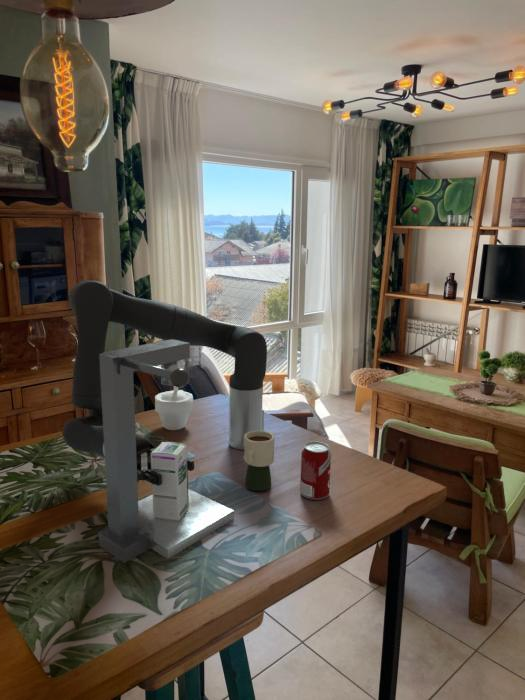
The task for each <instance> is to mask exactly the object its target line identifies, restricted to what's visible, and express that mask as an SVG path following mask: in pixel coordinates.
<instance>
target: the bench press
mask: <svg viewBox="0 0 525 700" xmlns="http://www.w3.org/2000/svg"><path fill="white" fill-rule="evenodd" d="M190 346H191V345H190V343H187V342H183V341H179V340H174V339H170V340H161V341H155V342H152V343H151V342H149V343H146V344H140V345H135V346H129V347H125V348H120V349H116V350H115V349H114V350H109V351H105V352H103V353H102V354H99V358H100V377H101V395H102V414H103V433H104V452H105V457H104V466H105V467H104V469H105V483H106V484H105V485H106V486H105V487H106V504H107V522H108V524H107V525H108V526H107V527H105V528H104V529H103V528H102V529H101V530H99V531H98V532H97V534H98V538H97V539H98V546H99V547H100V548H101V549H103V550H104V551H106V552H108V553H109V554H110V555H112V556H113V557H115V558H116V559H118V561H120V562H121V563H123V564H126V563H127V562H130V561H131V560H133V559H134V558H136V557H138V556H140V555H141V554H143V553H145V552H147V551H149V550H153V551H154V552H155V553H157V552H158V554H159V555H161V556H162V557H164V558H166V559H167V560H168V559H169V560H170V559H171V558H172V557H174V556H175V555H177V554H179V553H181V552H182V551H184V550H185V549H187V548H189V547H190V546H191V545H194V544H195V543H197V542H198V541H201V540H202V539H203V538H205V537H206V536H207V537H208V535H210V534H212V533H213V532H215V531H216V529H217V530H218V529H220V528H221V526H222V527H223V526H225V525H226V524H228V523H230V522H231V521H233V520H234V519H235V510H234V509H232V508H230V507H227V506H225V505H223V504H221V503H220V502H217V501H215V500H213V499H211V498H209V497H206V496H204V495H202V494H201V493H198V492H196V491H194V490H192V489H190V488H188V494H189V507H188V509H187V510H186V511H185V513H184V514H183V516H182V517H181V518H180V520H179V521H175V520H167V519H160V518H155V517H154V516H153V495H152V494H150V495H149V496H147V497H144V498H142V499H140V500H139V493H138V488H139V487H138V483H137V459H136V435H137V434H136V414H135V408H136V407H135V390H134V389H135V388H134V387H135V384H134V372H137V371H139V372H142V373H146V374H149V375H153V376H157V377H160V378H161V381H160V382H161V385H163V386H167V387H171V386H172V387H174V386H175V387H178V389H179V388H184V387H186V386H187V385H188V384H189V383H190V377H191V376H190V373H189V372H188V370H187V369H185V368H184V369H182V368H178V361H179V360H183V359H184V360H186V359H188V360H189V359H190V358H191V355H190V354H191V353H190V350H191V349H190ZM158 365H161V368H159V367H156V366H158ZM233 518H234V519H233ZM232 519H233V520H232ZM230 520H231V521H230ZM229 521H230V522H229ZM227 522H228V523H227ZM224 524H225V525H224ZM219 527H220V528H219ZM211 532H212V533H211ZM201 538H202V539H201ZM188 546H189V547H188ZM186 547H187V548H186ZM148 549H149V550H148ZM183 549H184V550H183Z"/></svg>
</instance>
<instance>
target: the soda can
mask: <svg viewBox="0 0 525 700" xmlns="http://www.w3.org/2000/svg"><path fill="white" fill-rule="evenodd" d="M329 449H330V446H329V445H328V444H327V443H324V442H321V441H309V442H307V443H305V444H304V449H303V450H302V451H301V455H300V456H301V461H300V481H299V483H300V484H299V487H300V488H299V492H300V495H302V496H303V497H305V498H307V499H309V500H313V501H314V500H315V501H319V500H323V499H326V498H328V496H329V495H330V486H331V472H332V471H331V469H332V452H331V450H329Z"/></svg>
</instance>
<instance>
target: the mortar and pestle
mask: <svg viewBox="0 0 525 700" xmlns="http://www.w3.org/2000/svg"><path fill="white" fill-rule="evenodd" d="M188 361H189V363H191V362H192V361H193V359H191V357H190V358H189V359H188ZM185 365H186V362H185V359H183V360H179V361H178V368H182V369H185ZM156 367H159V368H161V365H158V366H156ZM154 407H155V413H158V416H159V418H160V420H161V423H162V425H163V428H165V429H166V430H169V431H179V430H182V429H183V428H185V427H186V426H187V421H188V419H189V416H190V414H191V413H190V412H192V411H193V410H194V396H193V394H192V393H190V392H187V391H184V390H183V389H179V388H178V387H175V386H174V385H173V390H169V391H164V392H159V393H158V394H156V395H155V396H154Z"/></svg>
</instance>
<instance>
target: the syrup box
mask: <svg viewBox="0 0 525 700" xmlns="http://www.w3.org/2000/svg"><path fill="white" fill-rule="evenodd" d="M155 448H156V449H155V450H154V451H153V452H151V470H152V471H154V472H157V473H159V474H161V476H162V485H159V486H157V485H154V484H152V483H151V489H152V490H151V491H152V494H151V495H153V516H154V517H155V518H160V519H167V520H175V521H179V520H180V518H181V517H182V516H183V514H184V513H185V511H186V510H187V509H188V507H189V494H188V489H189V470H188V461H187V458H188V445H187V444H186V443H182V442H175V441H162V442H161V443H160V444H159V445H158V446H156V447H155Z"/></svg>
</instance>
